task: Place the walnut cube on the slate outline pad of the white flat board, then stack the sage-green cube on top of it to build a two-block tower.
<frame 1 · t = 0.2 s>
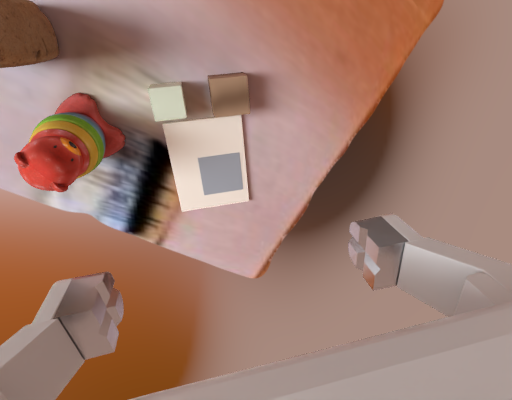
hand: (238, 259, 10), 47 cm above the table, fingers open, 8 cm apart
block: (19, 33, 43), on the table
sage cube: (169, 98, 51), on the table
walnut cube: (227, 92, 53), on the table
white flat board: (209, 164, 58), on the table
stacking bear: (85, 131, 51), on the table
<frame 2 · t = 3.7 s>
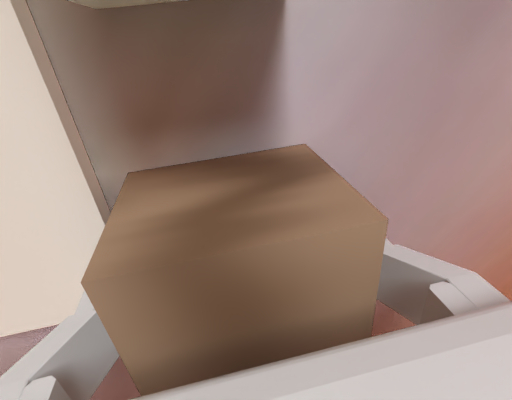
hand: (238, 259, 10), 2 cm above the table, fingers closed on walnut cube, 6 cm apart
walnut cube: (232, 230, 11), on the table, touching gripper
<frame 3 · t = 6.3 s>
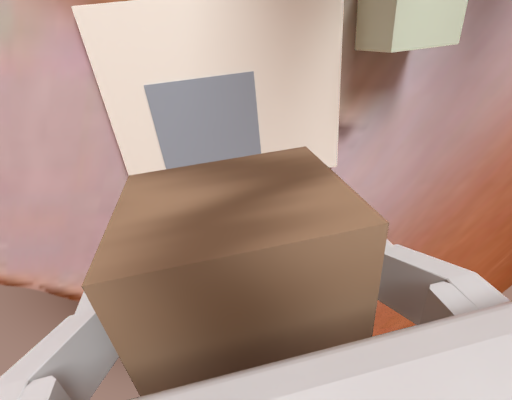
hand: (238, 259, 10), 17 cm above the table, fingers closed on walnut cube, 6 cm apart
sage cube: (386, 10, 23), on the table
walnut cube: (232, 232, 11), point 15 cm above the table, touching gripper
white flat board: (229, 100, 24), on the table
when the fingers open (3 cm above the table, at t = 9.1 s): walnut cube stays where it is, resting on white flat board.
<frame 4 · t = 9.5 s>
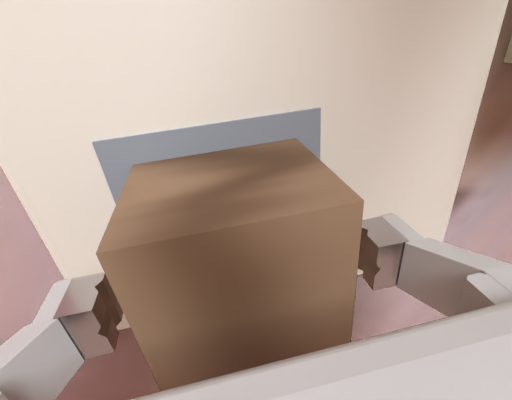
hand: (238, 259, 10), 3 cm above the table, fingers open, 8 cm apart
walnut cube: (229, 219, 12), point 1 cm above the table, touching white flat board
white flat board: (266, 159, 12), on the table
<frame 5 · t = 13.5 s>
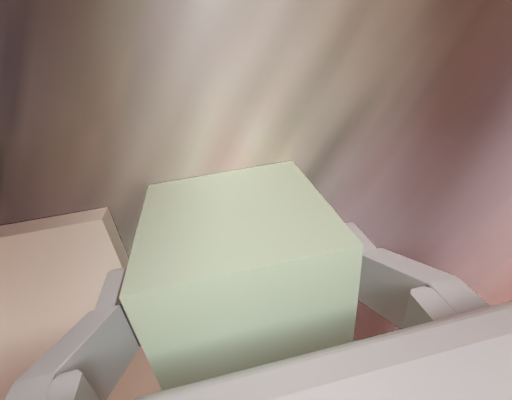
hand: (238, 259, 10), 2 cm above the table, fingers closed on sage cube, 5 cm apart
sage cube: (232, 231, 12), on the table, touching gripper
when the fingers open (8 cm above the table, at t = 18.4 s): sage cube stays where it is, resting on walnut cube.
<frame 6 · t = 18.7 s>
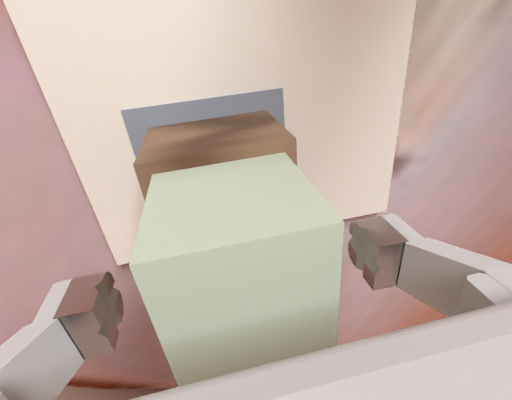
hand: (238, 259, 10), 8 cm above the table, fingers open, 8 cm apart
sage cube: (229, 218, 12), point 6 cm above the table, touching walnut cube
walnut cube: (218, 172, 17), point 1 cm above the table, touching white flat board, sage cube
white flat board: (245, 127, 17), on the table
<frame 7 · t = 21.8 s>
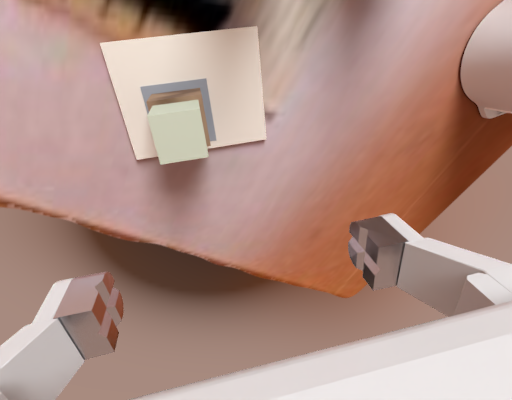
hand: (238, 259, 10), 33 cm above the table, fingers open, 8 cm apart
sage cube: (180, 124, 34), point 6 cm above the table, touching walnut cube
walnut cube: (181, 115, 38), point 1 cm above the table, touching white flat board, sage cube
white flat board: (193, 96, 38), on the table
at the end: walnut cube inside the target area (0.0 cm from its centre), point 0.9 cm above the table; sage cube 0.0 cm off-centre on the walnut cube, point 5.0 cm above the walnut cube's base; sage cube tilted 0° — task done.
